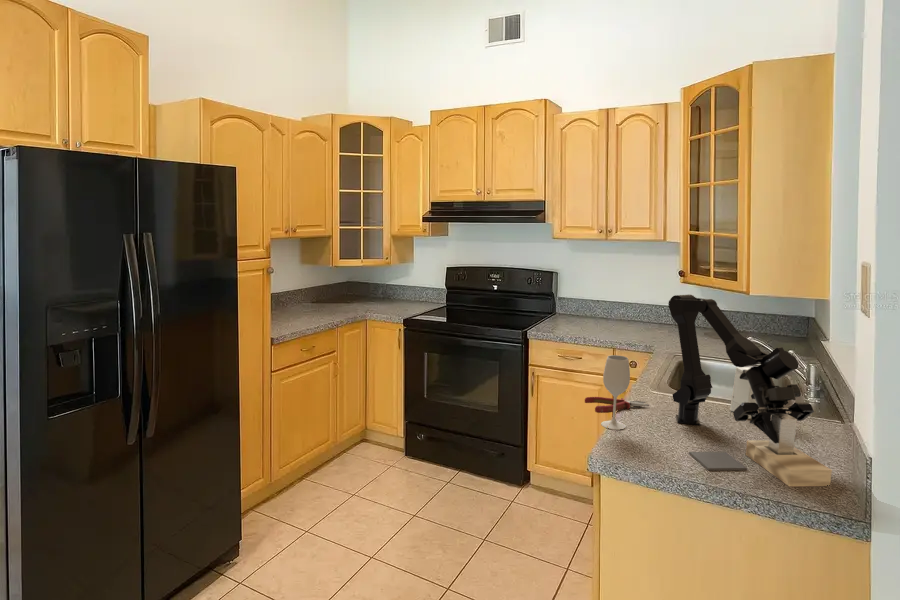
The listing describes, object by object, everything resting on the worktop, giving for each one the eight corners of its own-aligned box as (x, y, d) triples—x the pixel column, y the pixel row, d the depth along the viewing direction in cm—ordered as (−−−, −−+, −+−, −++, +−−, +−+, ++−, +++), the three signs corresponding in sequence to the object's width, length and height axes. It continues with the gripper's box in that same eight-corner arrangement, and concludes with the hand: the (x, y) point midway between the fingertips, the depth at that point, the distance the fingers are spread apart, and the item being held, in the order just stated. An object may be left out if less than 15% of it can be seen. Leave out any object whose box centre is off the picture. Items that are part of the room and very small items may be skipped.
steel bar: (766, 461, 148) (771, 413, 146) (781, 461, 148) (786, 413, 146) (776, 468, 144) (781, 419, 142) (791, 468, 144) (797, 419, 142)
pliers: (655, 413, 185) (656, 405, 185) (596, 414, 182) (596, 406, 182) (639, 401, 196) (639, 394, 196) (583, 403, 194) (583, 395, 193)
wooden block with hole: (745, 454, 152) (747, 440, 151) (781, 454, 153) (783, 440, 152) (789, 486, 134) (791, 470, 134) (829, 486, 135) (831, 470, 134)
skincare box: (729, 410, 187) (733, 366, 185) (746, 409, 188) (750, 366, 186) (746, 419, 179) (751, 373, 177) (763, 418, 180) (768, 373, 178)
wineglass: (600, 419, 176) (604, 353, 173) (626, 422, 174) (631, 355, 171) (599, 428, 169) (604, 359, 166) (626, 431, 167) (631, 361, 164)
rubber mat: (689, 453, 152) (689, 451, 152) (725, 453, 152) (725, 451, 152) (708, 470, 142) (708, 468, 142) (746, 470, 143) (747, 467, 142)
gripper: (743, 372, 146) (765, 429, 136) (813, 372, 147) (839, 429, 138) (724, 392, 155) (743, 447, 145) (790, 392, 156) (813, 447, 147)
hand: (785, 442), depth 144 cm, fingers closed on steel bar, 4 cm apart
